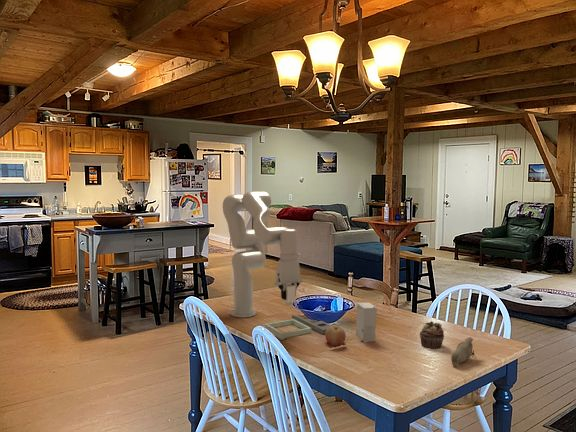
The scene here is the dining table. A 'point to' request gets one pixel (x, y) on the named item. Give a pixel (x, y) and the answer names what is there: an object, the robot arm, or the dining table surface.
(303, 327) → the green square frame
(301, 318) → the power strip
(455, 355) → the decorative bird
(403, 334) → the dining table surface
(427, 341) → the cupcake
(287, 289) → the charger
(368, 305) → the skincare box
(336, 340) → the fruit
